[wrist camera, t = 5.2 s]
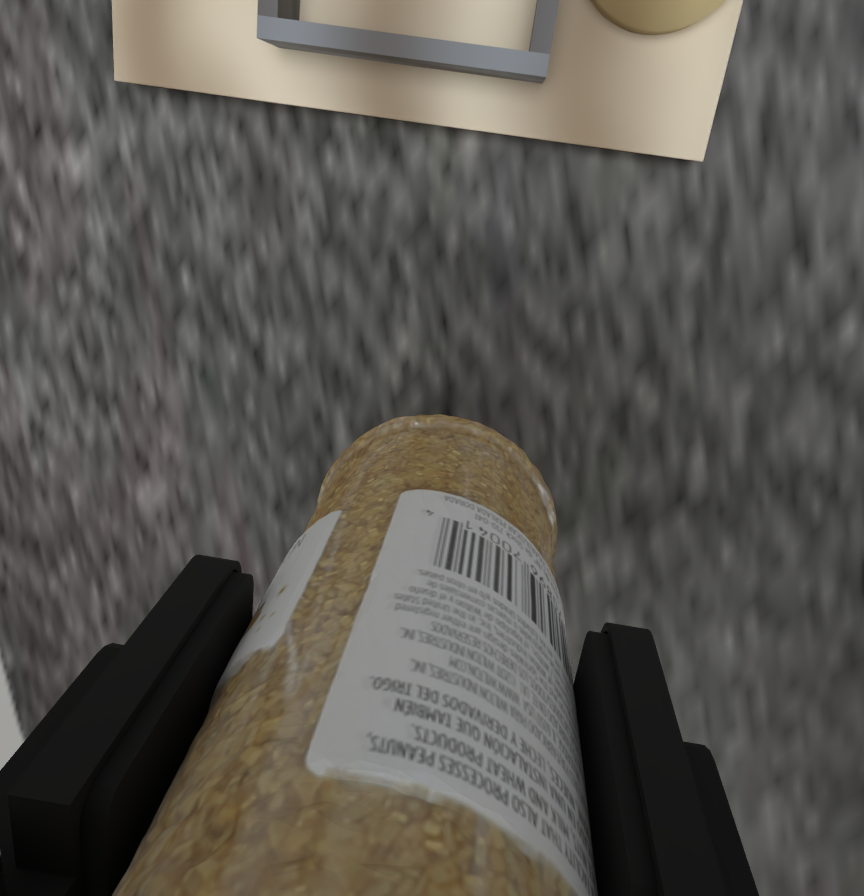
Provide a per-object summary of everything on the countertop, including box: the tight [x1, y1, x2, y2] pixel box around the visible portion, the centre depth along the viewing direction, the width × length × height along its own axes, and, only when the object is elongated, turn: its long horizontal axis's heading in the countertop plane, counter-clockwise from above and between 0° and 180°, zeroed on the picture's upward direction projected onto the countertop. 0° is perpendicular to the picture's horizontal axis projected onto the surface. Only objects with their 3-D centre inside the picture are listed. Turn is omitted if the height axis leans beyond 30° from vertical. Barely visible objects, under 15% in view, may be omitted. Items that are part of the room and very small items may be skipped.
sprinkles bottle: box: [112, 414, 598, 896], centre depth 8 cm, size 5×5×14 cm
